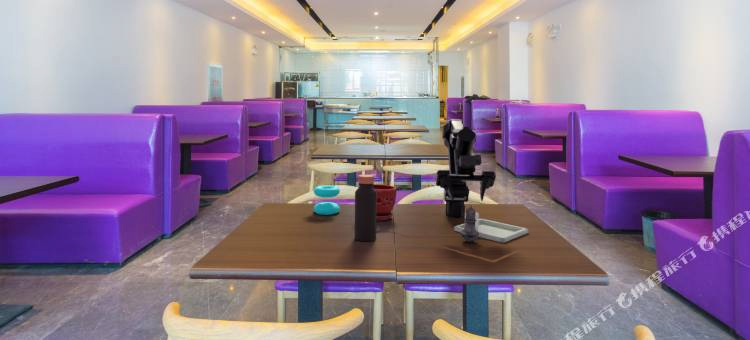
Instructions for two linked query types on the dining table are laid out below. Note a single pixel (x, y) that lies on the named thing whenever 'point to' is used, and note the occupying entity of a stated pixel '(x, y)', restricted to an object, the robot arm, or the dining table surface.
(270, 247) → the dining table surface
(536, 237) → the dining table surface
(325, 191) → the donuts
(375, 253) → the dining table surface
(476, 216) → the white smooth curved piece
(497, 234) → the tray
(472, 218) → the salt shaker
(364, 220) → the bottle
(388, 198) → the plant pot
